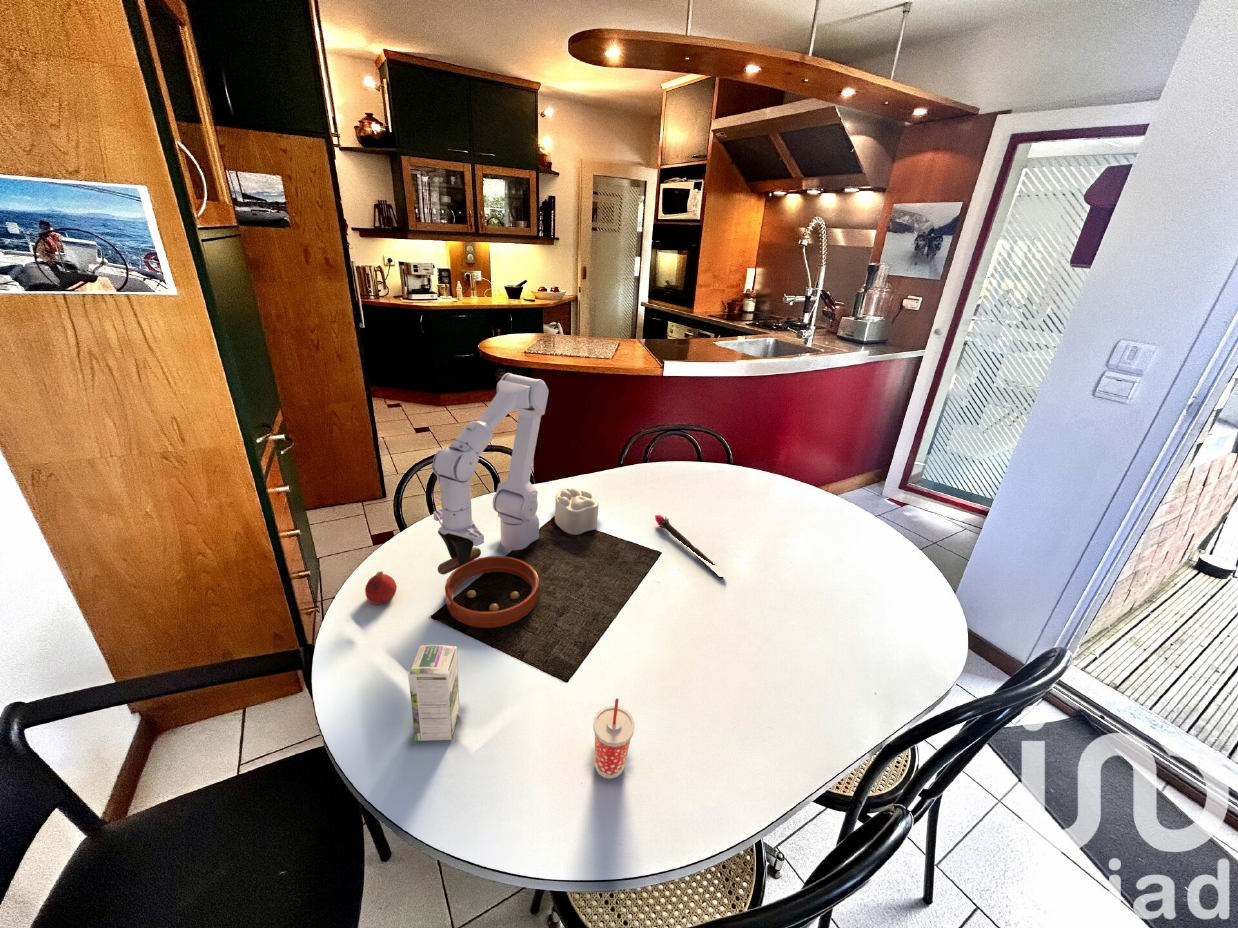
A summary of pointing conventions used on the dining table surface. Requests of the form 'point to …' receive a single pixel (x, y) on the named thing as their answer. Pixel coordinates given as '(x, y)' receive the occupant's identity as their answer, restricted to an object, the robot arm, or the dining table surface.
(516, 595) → the bead
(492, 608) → the bead
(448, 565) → the stick
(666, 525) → the wand
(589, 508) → the lumpy-topped squat cylinder
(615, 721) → the beverage cup
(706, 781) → the dining table surface
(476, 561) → the bowl
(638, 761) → the dining table surface
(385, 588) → the red round piece
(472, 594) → the bead
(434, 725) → the syrup box
